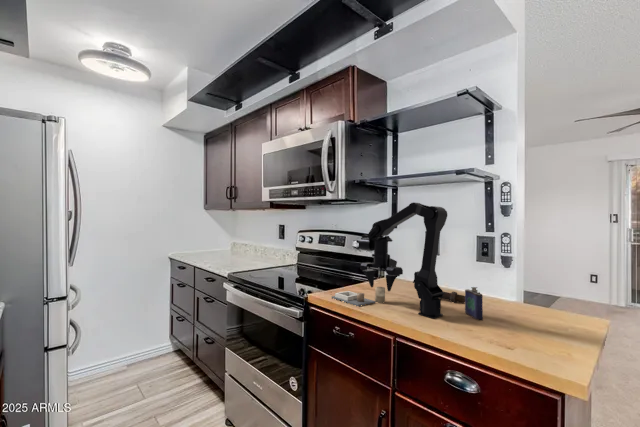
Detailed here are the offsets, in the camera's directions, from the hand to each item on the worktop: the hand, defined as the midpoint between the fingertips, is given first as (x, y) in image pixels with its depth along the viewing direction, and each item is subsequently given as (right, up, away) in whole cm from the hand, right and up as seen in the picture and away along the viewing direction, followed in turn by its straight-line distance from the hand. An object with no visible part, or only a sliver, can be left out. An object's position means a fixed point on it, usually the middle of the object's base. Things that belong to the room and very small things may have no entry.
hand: (380, 289), depth 130 cm
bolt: (+30, -7, +5) cm, 31 cm away
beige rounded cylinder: (0, -5, 0) cm, 5 cm away
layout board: (-11, -5, +1) cm, 13 cm away
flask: (+30, -6, -18) cm, 36 cm away
